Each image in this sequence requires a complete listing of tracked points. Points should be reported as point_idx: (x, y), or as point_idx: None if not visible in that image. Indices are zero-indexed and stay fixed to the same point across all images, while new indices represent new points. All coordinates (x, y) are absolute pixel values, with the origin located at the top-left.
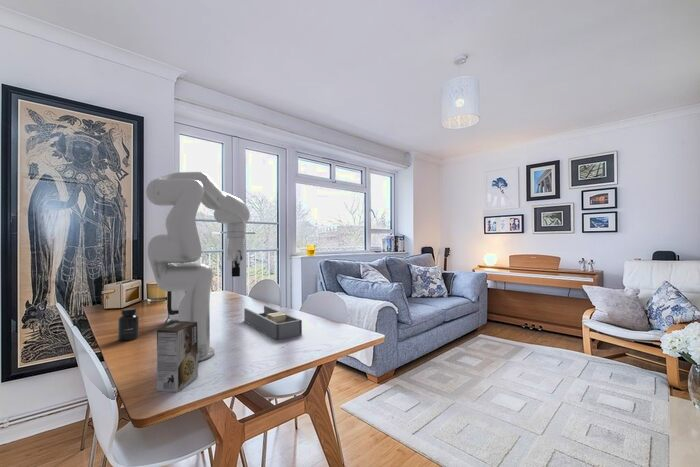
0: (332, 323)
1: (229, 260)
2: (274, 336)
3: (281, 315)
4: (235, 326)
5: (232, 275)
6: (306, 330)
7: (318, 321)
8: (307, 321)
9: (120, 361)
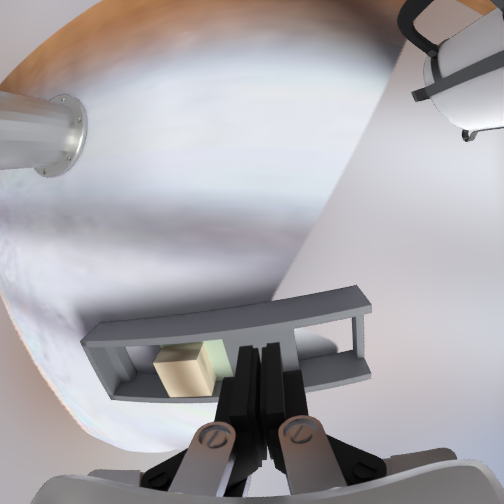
0: None
1: (306, 494)
2: (107, 324)
3: (164, 385)
4: (291, 245)
5: (243, 349)
6: None
7: None
8: None
9: (106, 6)
